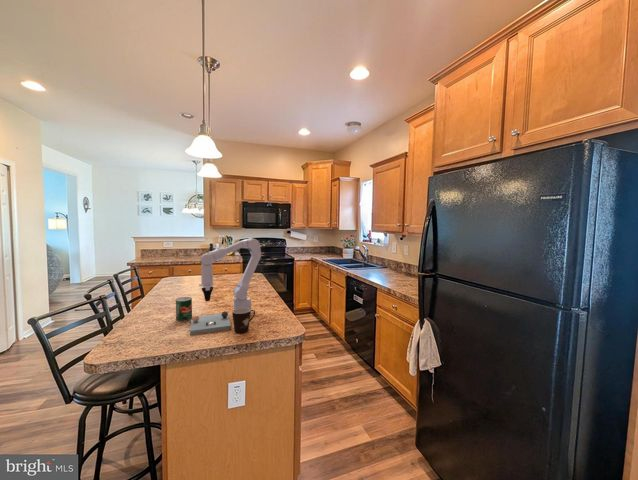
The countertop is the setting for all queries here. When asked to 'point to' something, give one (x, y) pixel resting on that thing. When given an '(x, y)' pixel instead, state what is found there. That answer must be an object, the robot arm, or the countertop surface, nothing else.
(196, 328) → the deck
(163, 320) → the countertop surface
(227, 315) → the black rubber ball
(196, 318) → the terracotta ball
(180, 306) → the canned tomato
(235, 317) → the coffee mug
